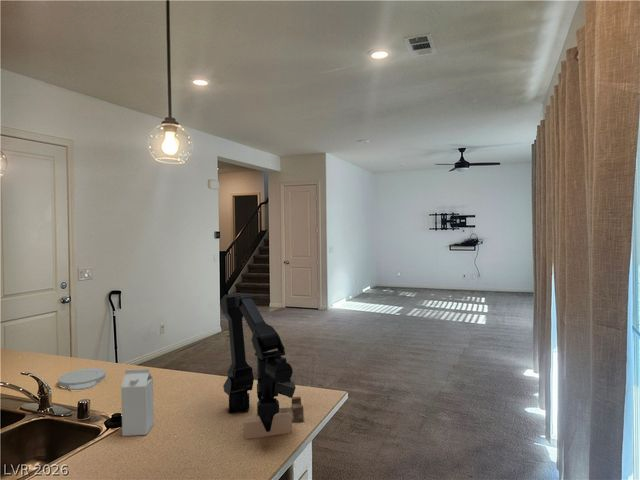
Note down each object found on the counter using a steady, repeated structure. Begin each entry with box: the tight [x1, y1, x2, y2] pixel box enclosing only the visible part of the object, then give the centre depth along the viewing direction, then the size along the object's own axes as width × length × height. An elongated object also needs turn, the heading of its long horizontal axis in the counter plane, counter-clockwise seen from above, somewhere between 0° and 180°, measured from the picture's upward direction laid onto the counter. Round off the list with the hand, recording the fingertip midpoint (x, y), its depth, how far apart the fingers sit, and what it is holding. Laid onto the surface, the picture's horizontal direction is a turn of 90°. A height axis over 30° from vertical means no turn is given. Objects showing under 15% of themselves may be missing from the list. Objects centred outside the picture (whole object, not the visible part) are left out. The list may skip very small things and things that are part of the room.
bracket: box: [277, 396, 305, 424], centre depth 136 cm, size 14×9×5 cm, turn 99°
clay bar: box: [243, 412, 293, 440], centre depth 125 cm, size 14×4×5 cm, turn 105°
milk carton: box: [120, 368, 155, 437], centre depth 128 cm, size 7×7×19 cm
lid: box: [57, 367, 107, 391], centre depth 169 cm, size 17×20×3 cm
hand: (267, 424), depth 125 cm, fingers open, 9 cm apart
